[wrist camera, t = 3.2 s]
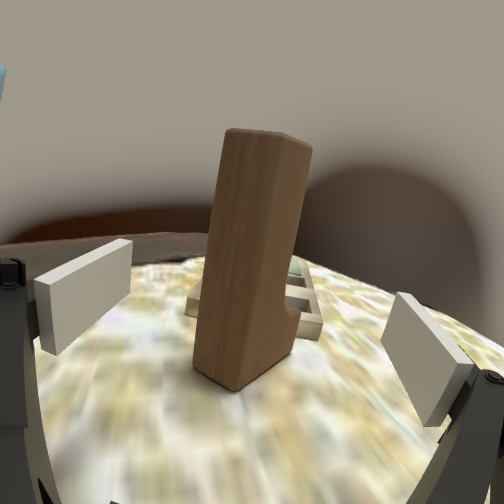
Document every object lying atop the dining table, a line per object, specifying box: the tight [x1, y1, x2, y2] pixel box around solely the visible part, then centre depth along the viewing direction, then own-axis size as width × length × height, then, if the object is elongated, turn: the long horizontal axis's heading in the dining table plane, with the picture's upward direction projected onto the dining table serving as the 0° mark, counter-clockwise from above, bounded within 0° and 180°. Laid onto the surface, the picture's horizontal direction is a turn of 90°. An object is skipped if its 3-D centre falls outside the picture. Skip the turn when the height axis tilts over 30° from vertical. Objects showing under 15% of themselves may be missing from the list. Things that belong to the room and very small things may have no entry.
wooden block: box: [192, 128, 313, 391], centre depth 25 cm, size 9×4×18 cm, turn 145°
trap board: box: [185, 257, 323, 340], centre depth 44 cm, size 14×24×2 cm, turn 175°
